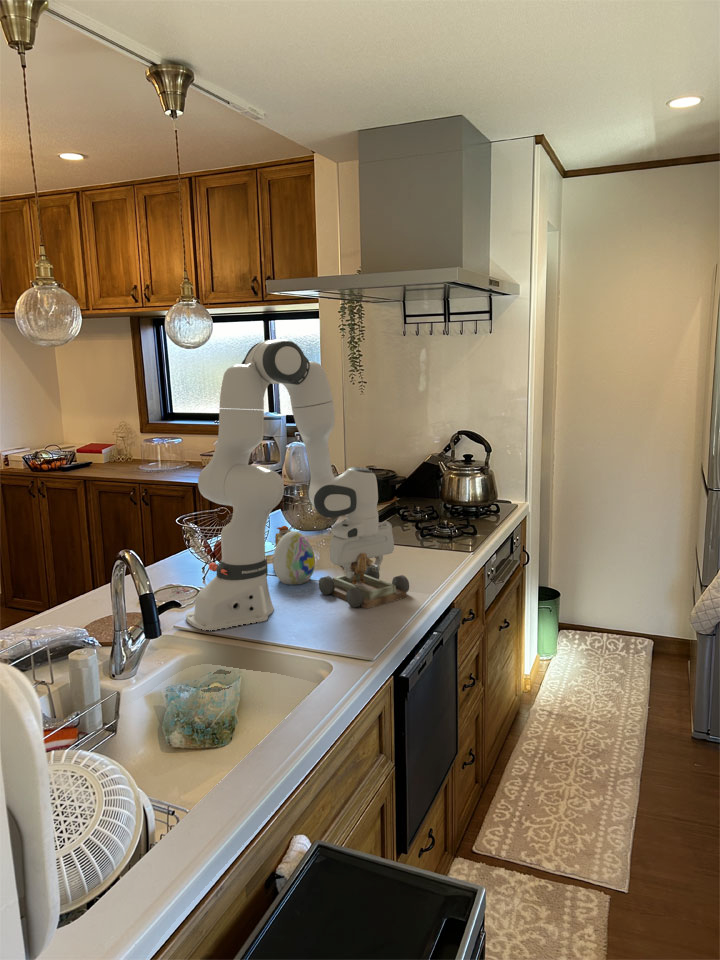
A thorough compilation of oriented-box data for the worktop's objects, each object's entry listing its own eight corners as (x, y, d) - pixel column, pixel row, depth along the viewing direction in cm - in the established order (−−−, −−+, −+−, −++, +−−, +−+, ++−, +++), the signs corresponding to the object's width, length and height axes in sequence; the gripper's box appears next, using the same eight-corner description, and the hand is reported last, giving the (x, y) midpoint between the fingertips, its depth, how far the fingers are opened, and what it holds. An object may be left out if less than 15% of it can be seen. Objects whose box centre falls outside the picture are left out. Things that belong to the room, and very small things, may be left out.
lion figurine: (375, 585, 197) (374, 553, 195) (357, 588, 195) (356, 556, 193) (355, 570, 210) (355, 541, 209) (338, 573, 208) (337, 543, 207)
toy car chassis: (360, 610, 188) (359, 592, 187) (316, 591, 203) (316, 574, 202) (411, 595, 199) (411, 578, 198) (366, 578, 214) (366, 562, 213)
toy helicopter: (275, 574, 220) (274, 530, 218) (265, 556, 240) (264, 516, 238) (302, 571, 223) (300, 528, 220) (290, 554, 242) (288, 514, 240)
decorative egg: (299, 589, 206) (297, 538, 203) (265, 583, 212) (263, 533, 210) (323, 577, 216) (321, 529, 213) (290, 572, 222) (288, 524, 220)
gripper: (384, 518, 206) (384, 564, 209) (325, 529, 194) (327, 579, 196) (398, 521, 201) (399, 569, 204) (339, 534, 189) (340, 584, 192)
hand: (363, 574), depth 200 cm, fingers open, 8 cm apart
